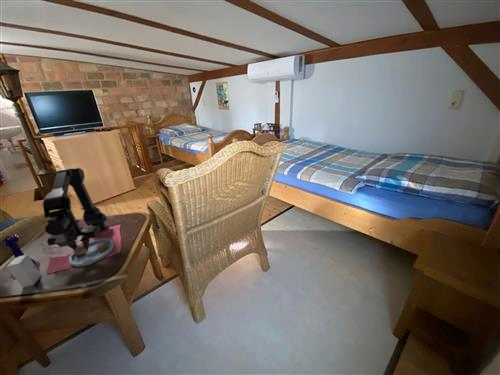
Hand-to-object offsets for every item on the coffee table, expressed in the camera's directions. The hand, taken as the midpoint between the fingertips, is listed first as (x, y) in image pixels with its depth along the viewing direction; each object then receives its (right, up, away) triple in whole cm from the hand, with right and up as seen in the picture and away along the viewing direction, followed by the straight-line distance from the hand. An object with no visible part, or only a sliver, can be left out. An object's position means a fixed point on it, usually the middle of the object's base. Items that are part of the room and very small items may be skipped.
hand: (82, 249), depth 96 cm
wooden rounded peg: (+4, -3, +8) cm, 10 cm away
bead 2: (-6, -4, +6) cm, 10 cm away
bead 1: (0, -1, 0) cm, 1 cm away
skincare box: (-18, -12, -5) cm, 22 cm away
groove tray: (-1, -4, +8) cm, 9 cm away
